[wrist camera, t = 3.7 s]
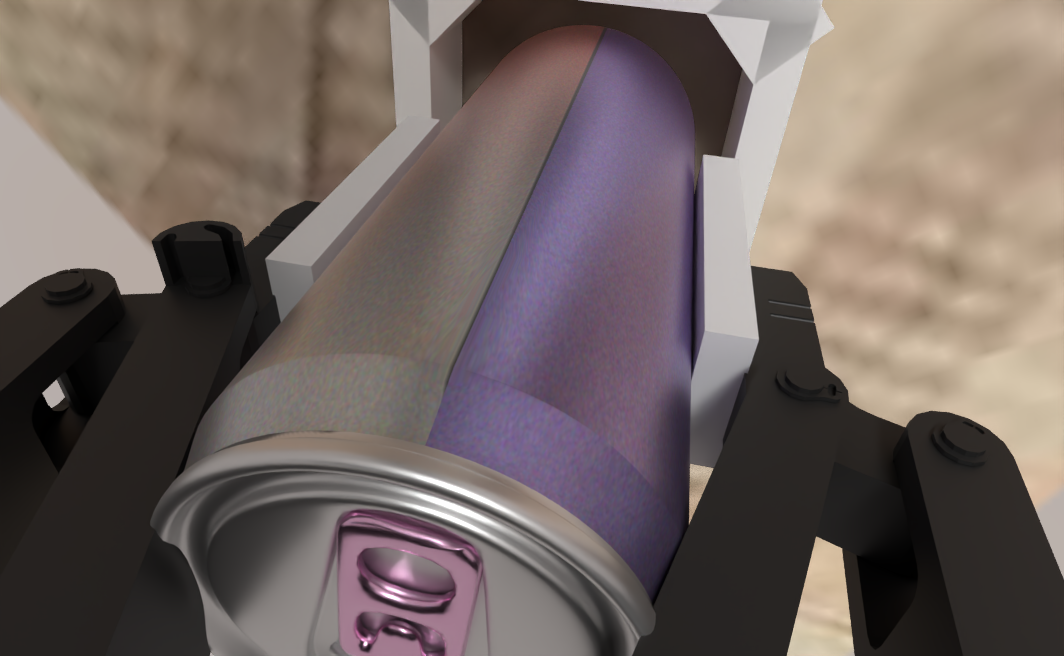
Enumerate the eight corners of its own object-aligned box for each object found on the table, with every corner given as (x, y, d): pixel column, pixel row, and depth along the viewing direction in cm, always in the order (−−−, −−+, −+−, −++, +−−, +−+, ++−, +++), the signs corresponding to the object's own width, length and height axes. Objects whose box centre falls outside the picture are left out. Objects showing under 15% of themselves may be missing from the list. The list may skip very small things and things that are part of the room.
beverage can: (727, 48, 17) (788, 563, 5) (659, 248, 21) (605, 818, 9) (497, -6, 17) (55, 362, 5) (470, 201, 21) (174, 691, 9)
